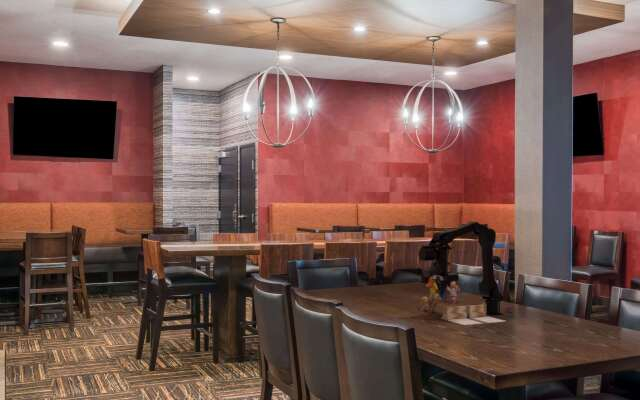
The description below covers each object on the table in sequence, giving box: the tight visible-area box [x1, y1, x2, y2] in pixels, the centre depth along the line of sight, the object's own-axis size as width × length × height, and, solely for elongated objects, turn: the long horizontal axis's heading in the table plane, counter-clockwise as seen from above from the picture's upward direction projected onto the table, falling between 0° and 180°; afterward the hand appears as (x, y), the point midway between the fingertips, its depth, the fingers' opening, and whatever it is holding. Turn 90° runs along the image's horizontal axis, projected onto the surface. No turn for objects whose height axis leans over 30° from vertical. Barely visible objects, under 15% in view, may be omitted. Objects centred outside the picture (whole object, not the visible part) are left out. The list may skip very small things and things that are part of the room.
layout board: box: [440, 315, 506, 326], centre depth 304 cm, size 22×17×1 cm
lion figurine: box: [417, 293, 441, 314], centre depth 326 cm, size 15×5×9 cm, turn 34°
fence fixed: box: [469, 302, 487, 318], centre depth 310 cm, size 9×2×6 cm, turn 114°
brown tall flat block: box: [442, 304, 470, 321], centre depth 305 cm, size 13×2×6 cm, turn 114°
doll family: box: [425, 277, 461, 304], centre depth 357 cm, size 21×10×13 cm, turn 34°
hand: (441, 294), depth 309 cm, fingers closed
